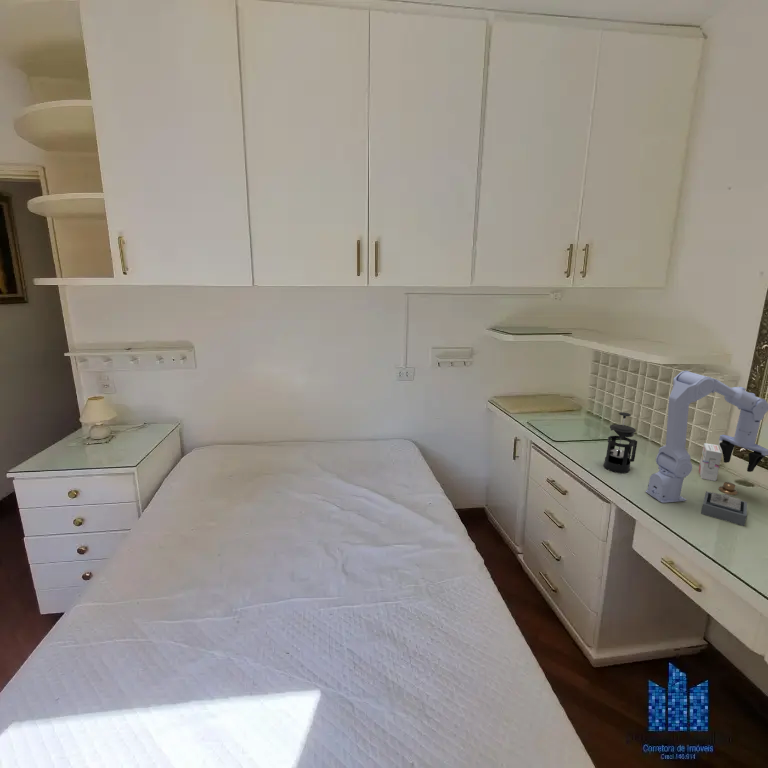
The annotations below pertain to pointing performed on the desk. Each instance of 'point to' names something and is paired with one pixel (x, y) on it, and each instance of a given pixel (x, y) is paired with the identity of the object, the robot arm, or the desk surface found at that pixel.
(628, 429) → the french press
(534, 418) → the desk surface
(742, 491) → the desk surface
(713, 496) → the plunger
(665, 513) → the desk surface
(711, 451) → the ink cartridge box
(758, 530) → the desk surface
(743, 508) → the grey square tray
